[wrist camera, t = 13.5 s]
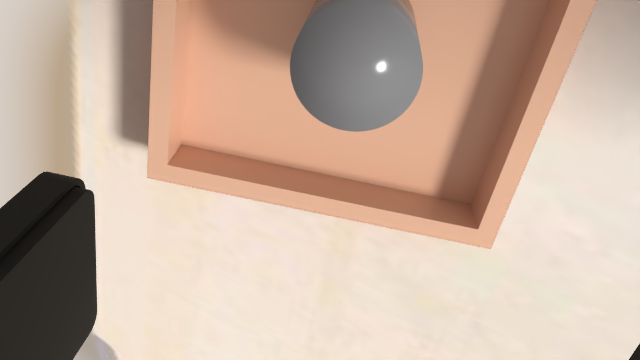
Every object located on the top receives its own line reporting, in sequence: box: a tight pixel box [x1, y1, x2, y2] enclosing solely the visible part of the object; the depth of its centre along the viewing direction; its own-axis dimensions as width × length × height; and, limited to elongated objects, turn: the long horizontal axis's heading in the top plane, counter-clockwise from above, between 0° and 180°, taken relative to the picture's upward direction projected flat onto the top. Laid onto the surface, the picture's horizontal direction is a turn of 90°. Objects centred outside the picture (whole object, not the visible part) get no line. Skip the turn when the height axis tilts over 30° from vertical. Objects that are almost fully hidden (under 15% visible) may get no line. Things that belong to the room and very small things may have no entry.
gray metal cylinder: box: [290, 0, 423, 132], centre depth 23 cm, size 5×5×6 cm
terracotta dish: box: [147, 0, 597, 249], centre depth 25 cm, size 18×18×3 cm
